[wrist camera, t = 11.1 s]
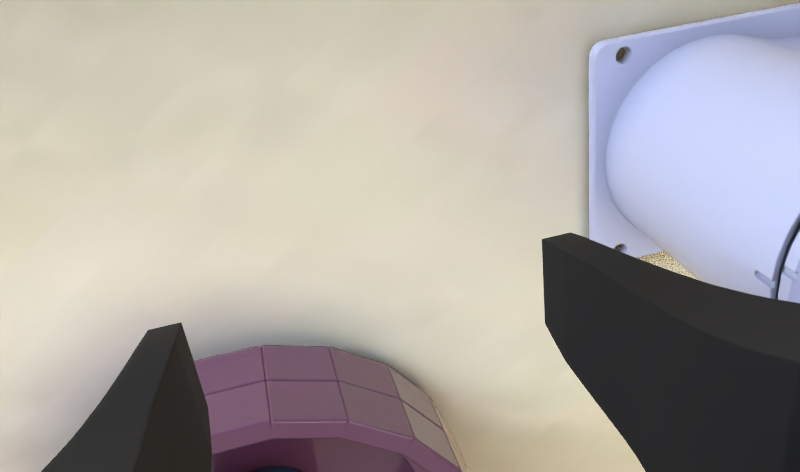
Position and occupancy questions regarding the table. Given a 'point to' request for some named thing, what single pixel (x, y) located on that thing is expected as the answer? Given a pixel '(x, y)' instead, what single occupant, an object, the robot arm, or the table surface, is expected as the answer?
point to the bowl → (320, 414)
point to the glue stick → (277, 469)
